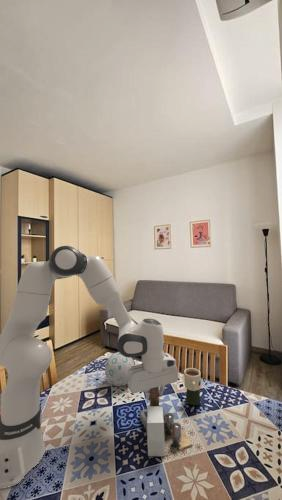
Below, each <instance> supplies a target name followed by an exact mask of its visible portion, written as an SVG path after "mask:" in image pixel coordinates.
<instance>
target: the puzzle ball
mask: <svg viewBox="0 0 282 500" xmlns="http://www.w3.org/2000/svg"><path fill="white" fill-rule="evenodd" d="M132 366H136V365H135V363H134V359H133V357H125V356H123V355H121V354H120V352H119V351H117V352H114V353H113V354H111V356H110V357H109V358H107V360H106V363H105V365H104V373H105V378H106V379H107V381H108V383H110V384H112V385H113V386H115V387H120V386H125V385H128V379H129V378H128V370H129V369H130V368H131V367H132Z"/></svg>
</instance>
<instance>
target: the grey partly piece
mask: <svg viewBox="0 0 282 500" xmlns="http://www.w3.org/2000/svg"><path fill="white" fill-rule="evenodd" d="M159 406H162V405H161V404H159ZM166 414H167V412H166V411H165V409H164V408H163V417H164V431H166V423H165V415H166ZM139 419H140V420H141V423H142V424H143V425H142V426H143V427H144V429H145V431H146V432H147V408H145V409H142V410H139Z"/></svg>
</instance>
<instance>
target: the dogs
mask: <svg viewBox="0 0 282 500" xmlns="http://www.w3.org/2000/svg"><path fill="white" fill-rule="evenodd" d="M174 417H175V416H174V414H173V413H171V412H166V415H165V423H166V430H165V434H166V436H168V437H170V438H171V440H172V441H171V442H172V443H171V444H172V446H173V448H175V449H178V451H182V450H185V449H188V448H190V447H193V443H192V441H191V440H190V439H189V437H188V436H187V434H186V433H185V432H184V430H183V428H182V427H181V426H182V425H181V424H180V423H179V422H174V421H175V420H174Z"/></svg>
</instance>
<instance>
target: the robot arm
mask: <svg viewBox="0 0 282 500" xmlns="http://www.w3.org/2000/svg"><path fill="white" fill-rule="evenodd" d="M48 259H49V260H47V261H44V262H43V261H33V262H31V263H28V264H27V265H26V266H25V268H24V270H23V272H22V274H21V276H20V278H19V282H18V284H17V288H16V292H15V296H14V300H13V304H12V307H11V311H10V314H9V317H8V319H7V322H5V325H4V327H3V330H2V331H1V333H0V367H3V368H4V369H5V371H6V372H7V381H6V386H5V387H4V388H3V390H2V391H1V393H0V490H1V488H3V489H5V488H4V487H8V486H13V485H16V484H18V483H19V482H20V481H21V480H22V479H23V480H24V478H25V477H26V476H27V475H28V474H27V472H28V471H30V470H31V469H32V468H33V467H35V466H36V465H37V464H38V465H39V464H40V462H41V461H42V460H41V459H43V458H44V456H45V454H44V453H46V450H45V448H46V447H45V446H46V443H45V441H44V437H43V433H42V423H43V418H42V417H43V415H42V413H43V412H42V407H41V405H42V404H41V403H40V401H41V400H40V397H41V396H40V395H41V391H40V388H41V381H42V377H43V374H45V372H46V371H47V370H48V368H49V367H50V365H51V363H52V360H53V353H52V348H51V347H50V346H49V345H47V344H46V342H45V341H43V340H41V339H39V338H36V337H35V333H36V331H37V329H38V327H39V325H40V324H41V323H42V322H43V321H45V319H47V318H46V317H47V316H48V310H49V305H50V301H51V296H52V291H53V287H54V284H55V281H57V280H61V279H67V278H71V277H73V276H76V277H79V278H80V279H81V280H82V282H83V283H84V286H85V288H86V289H87V292H88V294H89V296H90V297H91V298H92V300H93V301H94V302H95V304H97V305H100V306H104V307H105V308H107V309H108V310H109V311H110V313H111V315H112V317H113V318H114V320H115V322H116V324H117V327H118V338H117V343H116V345H117V346H116V347H117V348H116V349H117V352H120V354H121V355H123V356H125V357H131V358H136V357H139V356H141V363H139V364H136V365H135V366H132V367H131V368H130V369H129V370H128V378H129V379H128V383H127V387H128V390H129V392H130V393H131V394H136V393H137V394H138V393H141V392H144V394H145V400H146V401H150V400H151V395H150V392H149V389H152V388H156V387H159V398H162V397H163V396H164V394H163V393H164V391H165V388H166V386H167V385H170V384H173V383H177V382H178V380H179V369H178V366H177V360H176V359H175V358H174V357H173V356H172V355H171V354H169V353H168V352H167V353H166V352H165V351H164V344H165V342H164V341H165V339H164V329H163V326H162V323H161V322H160V321H158V320H157V319H154V318H144V319H142V321H141V322H139V323H138V321H136V320H135V319H133V318H132V317H131V315H130V314H129V311H128V310H127V308H126V306H125V304H124V302H123V300H122V298H121V297H122V296H121V294H120V291H119V287H118V284H117V282H116V279H115V277H114V275H113V273H112V271H111V269H110V268H109V267H108V265H107V264H106V262H105V261H104V259H103V258H102V257H101V256H100V255H95V254H91V255H87V256H86V255H85V254H84V253H82V252H81V251H80V250H78V249H77V248H75V247H73V246H69V245H61V246H59V247H56V248H55V249H53V250H52V252H51V254H50V256H49V258H48ZM46 449H47V448H46ZM43 455H44V456H43ZM42 457H43V458H42ZM40 460H41V461H40ZM39 461H40V462H39ZM38 465H37V466H38ZM37 466H36V467H37ZM36 467H35V468H36ZM32 470H33V469H32ZM32 470H31V471H32ZM31 471H30V472H31ZM26 474H27V475H26ZM25 475H26V476H25ZM24 476H25V477H24ZM12 480H13V481H12ZM23 480H22V481H23ZM22 481H21V482H22ZM21 482H20V483H21ZM20 483H19V484H20ZM19 484H18V485H19Z"/></svg>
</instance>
